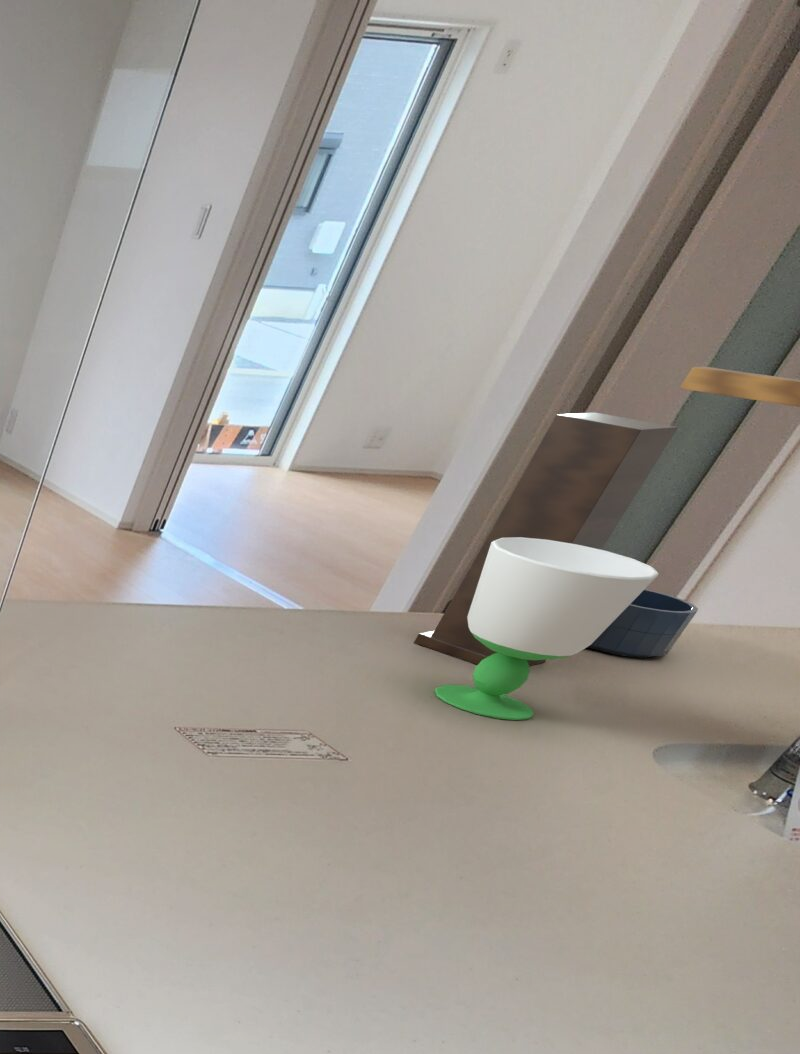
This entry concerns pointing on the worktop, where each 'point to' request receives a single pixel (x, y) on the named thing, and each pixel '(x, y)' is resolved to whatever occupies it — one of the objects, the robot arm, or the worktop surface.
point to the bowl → (646, 626)
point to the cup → (540, 614)
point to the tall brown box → (561, 503)
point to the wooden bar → (744, 385)
